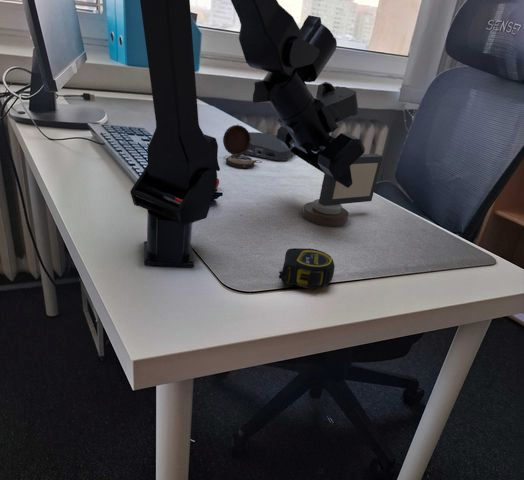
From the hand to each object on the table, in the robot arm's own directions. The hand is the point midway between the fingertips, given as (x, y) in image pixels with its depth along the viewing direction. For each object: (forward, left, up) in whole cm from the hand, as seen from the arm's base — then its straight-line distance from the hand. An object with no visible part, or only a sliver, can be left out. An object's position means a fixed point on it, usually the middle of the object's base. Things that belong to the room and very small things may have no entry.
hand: (339, 179), depth 87 cm
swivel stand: (0, +1, -7) cm, 7 cm away
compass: (+30, +11, -7) cm, 32 cm away
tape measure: (-25, +12, -7) cm, 29 cm away
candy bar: (+5, +23, -7) cm, 25 cm away
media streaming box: (+43, +4, -7) cm, 43 cm away
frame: (+1, -2, -5) cm, 6 cm away
